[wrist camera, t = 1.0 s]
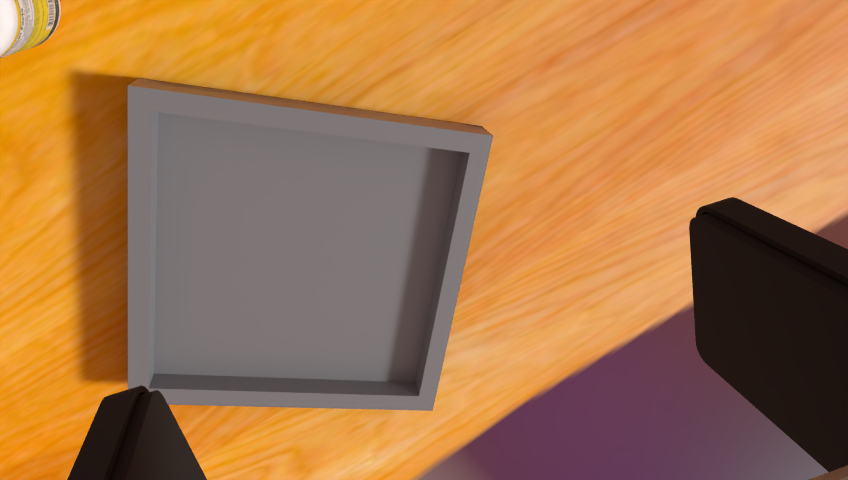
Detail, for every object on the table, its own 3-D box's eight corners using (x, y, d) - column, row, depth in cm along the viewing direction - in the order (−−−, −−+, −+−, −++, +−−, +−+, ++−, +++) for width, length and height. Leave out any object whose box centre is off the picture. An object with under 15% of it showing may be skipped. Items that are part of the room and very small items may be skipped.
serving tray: (138, 77, 34) (127, 85, 32) (482, 126, 39) (493, 135, 36) (136, 380, 41) (127, 403, 39) (426, 389, 46) (432, 410, 44)
